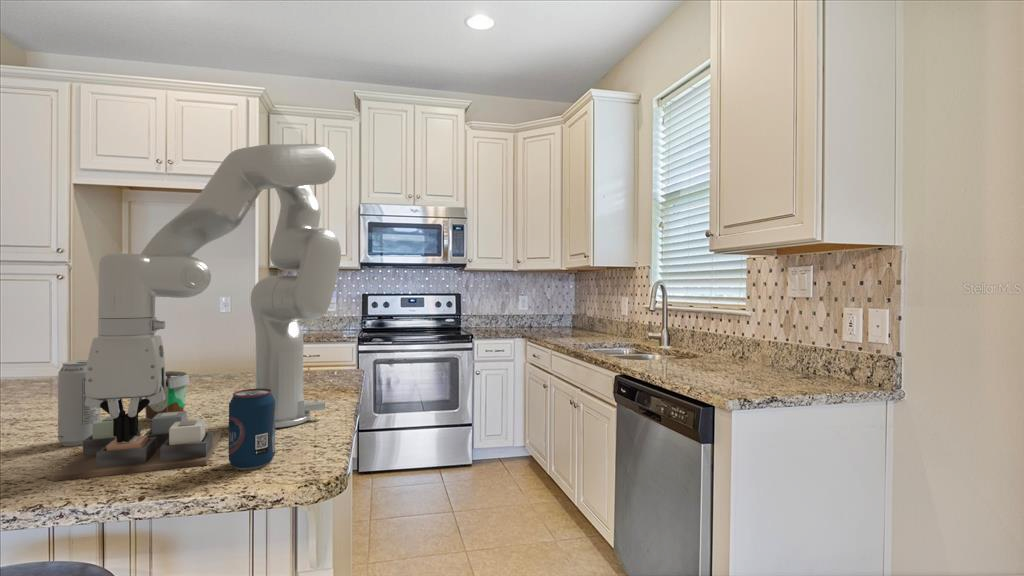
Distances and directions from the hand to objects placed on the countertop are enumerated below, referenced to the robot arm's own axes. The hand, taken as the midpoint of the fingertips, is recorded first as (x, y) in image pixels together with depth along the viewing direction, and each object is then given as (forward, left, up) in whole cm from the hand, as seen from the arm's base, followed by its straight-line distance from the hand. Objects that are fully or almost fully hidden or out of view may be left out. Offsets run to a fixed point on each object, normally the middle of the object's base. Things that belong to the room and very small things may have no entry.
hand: (125, 439), depth 84 cm
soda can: (-19, +7, -4) cm, 21 cm away
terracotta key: (0, 0, -3) cm, 3 cm away
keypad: (-2, -4, -4) cm, 6 cm away
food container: (0, -30, -4) cm, 31 cm away
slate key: (-4, -8, -1) cm, 9 cm away
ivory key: (-9, 0, -1) cm, 9 cm away
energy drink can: (+12, -17, -4) cm, 21 cm away
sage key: (+4, -8, -1) cm, 9 cm away
